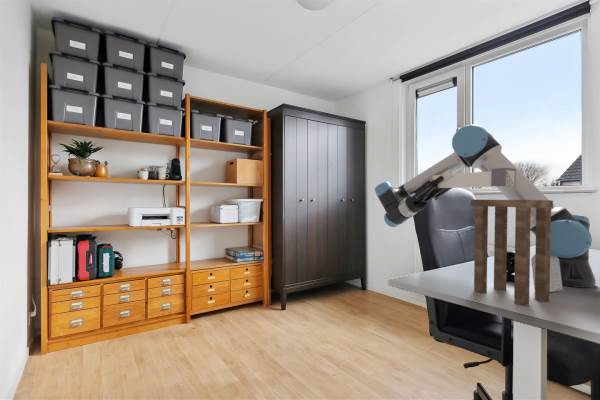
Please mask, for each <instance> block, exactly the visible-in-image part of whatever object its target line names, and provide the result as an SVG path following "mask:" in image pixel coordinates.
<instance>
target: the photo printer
mask: <svg viewBox="0 0 600 400" xmlns="http://www.w3.org/2000/svg"><path fill="white" fill-rule="evenodd" d="M530 262H531V268H532V277H533V278H532V279H533V288H534V289H535V254H533V255H532V257H531V258H530ZM559 291H563V285H562V280H561V272H560V264H559V258H558V257H557V256H555V255H553V254H551V253H550V293H554V292H559Z"/></svg>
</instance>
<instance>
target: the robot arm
mask: <svg viewBox="0 0 600 400" xmlns="http://www.w3.org/2000/svg"><path fill="white" fill-rule="evenodd" d="M451 146H452V149H453V153H450V154H449V155H448V156H446V157H445V158H443V159H441V160H440V161H438V162H436V163H435V164H434V165H432V166H430V167H428V168H427V169H425V170H424V171H421V172H420V173H419V174H417V175H416V176H414V177H412V178H411V179H409V180H408V181H406V182H404V183H403V184H401V185H399V186H398V187H393V185H392V184H391V182H390V181H384V182H381V183H379V184H377V185H376V186H375V187H374V192H375V194H376V197H377V198H378V200H379V201H380V203H381V206H382V207H383V209H384V210H385V213H384V216H383V220H384V223H385V224H386V225H387V226H389V227H391V228H396V227H399V226H400V225H403V223H405V222H406V221H407V220H408V219H410V218H413V216H415V215H416V214H418V213H419V212H421V211H423V210H424V209H425V207H426V206H427V203H429V202H430V201H431V200H432V199H434V200H435V201H438V200H439V198H441V197H442V196H443V195H445V194H446V193H448V192H450V191H451V190H452V189H453V188H438V186H440V185H442V184H443V183H444V182H446V181H447V180H449V179H450V178H451V177H453V174H462V173H463V172H461V170H462V169H469V168H471V169H478V170H480V172H488V171H492V169H495V168H514V169H516V181H515V186H503V187H501V186H500V187H496V188H497V189H498V190H499V192H500V193H502V195H503V196H504V197H506V200H550V198H548V197H547V196H546V195H545V194H544V193H543V192H542V191H541V190H539V188H538V187H537V186H536V185H535V184H533V182H532V181H531V180H529V178H528V177H526V176H525V175H524V174H523V172H521V170H520V169H518V168H517V166H516V165H515V164H513V163H512V161H511V160H510V159H509V158H508V157H506V155H504V154H503V152H502V148H503V147H502V145H501V144H500V143H499V142H498V141H497V140H496V139H495V138H494V137H493V135H492V134H491V133H490V132H488V131H487V130H486V129H485V127H483V126H482V125H478V124H467V125H464V126H462V127H460V128H458V129H457V130H456V132H455V133H454V135H453V137H452V139H451ZM435 175H441V176H439V177H438V178H437V179H435V180H432V176H435ZM437 184H438V186H437ZM416 188H417V189H416ZM413 189H414V190H413ZM590 227H591V223H590V219H589V217H587V216H585V215H579V214H572V213H571V212H570V211H569V210H568V209H567V208H565V207H564V206H557V205H555V204H554V203H553V208H551V238H550V253H551V254H553V255H555V256H557V257H558V258H559V264H560V272H561V280H562V286H566V287H573V288H596V283H597V282H596V281H597V280H596V277H595V275H594V272H593V270H592V267H591V265H590V261H589V258H590V247H591V246H592V242H593V238H592V234H591V232H590ZM530 232H531V233H532V234H533V235H534V236H535V237H536V208H531V222H530Z"/></svg>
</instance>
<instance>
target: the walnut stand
mask: <svg viewBox="0 0 600 400" xmlns="http://www.w3.org/2000/svg"><path fill="white" fill-rule="evenodd" d="M553 204H554V200H552V199H551V200H550V199H549V200H508V199H470V207H474V209H475V211H474V212H475V213H474V215H475V216H474V257H473V258H474V261H473V262H474V267H473V268H474V270H473V271H474V274H473V291H474V292H477V293H480V294H483V293H487V292H488V239H489V238H488V234H489V233H488V232H489V230H488V229H489V226H488V225H489V207H491V208H493V207H494V244H493V245H494V248H493V251H494V252H493V253H494V255H493V257H494V258H493V289H496V290H500V291H505V290H507V281H506V275H507V272H508V271H507V252H508V208H515V225H514V226H515V228H514V230H515V232H514V233H515V234H514V253H515V273H514V275H515V281H514V282H513V283H514V291H513V293H514V295H513V303H514V304H517V305H519V306H522V307H524V306H529V305H530V283H531V282H530V280H531V279H530V278H531V275H530V274H531V269H530V268H531V230H530V222H531V208H536V236H535V254H534V255H535V288H534V300H536V301H539V302H542V303H543V302H544V303H545V302H550V298H551V297H550V294H551V292H550V238H551V208H553Z"/></svg>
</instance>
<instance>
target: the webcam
mask: <svg viewBox="0 0 600 400" xmlns="http://www.w3.org/2000/svg"><path fill="white" fill-rule="evenodd" d="M514 281H515V251H514V252H513V251H508V250H507V275H506V282H510V283H514Z"/></svg>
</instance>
